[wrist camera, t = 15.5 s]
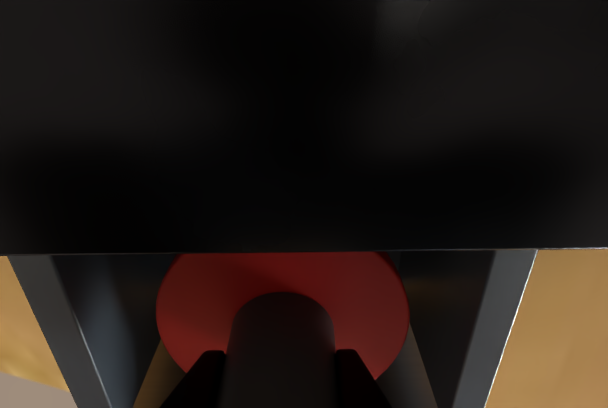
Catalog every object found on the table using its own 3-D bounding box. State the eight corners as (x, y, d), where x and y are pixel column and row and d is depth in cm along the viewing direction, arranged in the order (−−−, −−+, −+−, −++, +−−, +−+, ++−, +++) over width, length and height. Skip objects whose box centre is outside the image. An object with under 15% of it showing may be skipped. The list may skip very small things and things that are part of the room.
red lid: (392, 387, 11) (440, 599, 7) (184, 390, 11) (119, 602, 7) (419, 204, 8) (524, 392, 4) (138, 208, 8) (-9, 397, 4)
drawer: (406, 387, 19) (455, 570, 13) (183, 389, 19) (127, 573, 13) (480, -31, 10) (722, -70, 4) (80, -26, 10) (-219, -58, 4)
